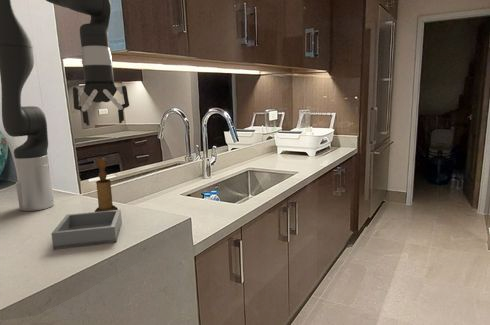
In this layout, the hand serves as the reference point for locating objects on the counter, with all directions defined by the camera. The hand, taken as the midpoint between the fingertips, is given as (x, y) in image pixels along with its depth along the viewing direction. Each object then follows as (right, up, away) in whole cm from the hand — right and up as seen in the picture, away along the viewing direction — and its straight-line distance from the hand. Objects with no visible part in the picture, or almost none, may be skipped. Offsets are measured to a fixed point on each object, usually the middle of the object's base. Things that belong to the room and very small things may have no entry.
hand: (104, 124), depth 97 cm
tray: (-1, -30, -7) cm, 31 cm away
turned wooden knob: (-2, -27, +6) cm, 28 cm away
